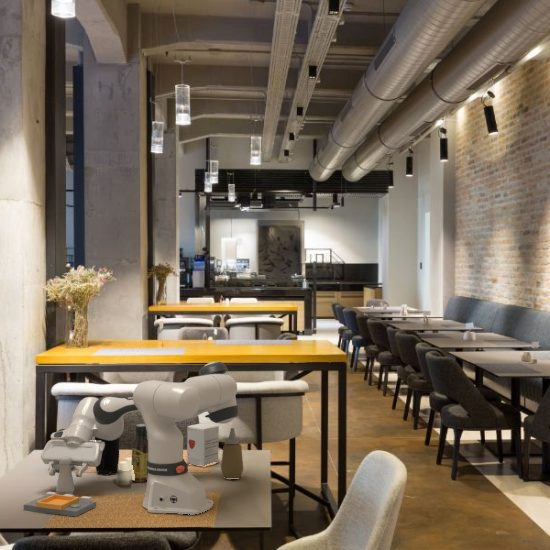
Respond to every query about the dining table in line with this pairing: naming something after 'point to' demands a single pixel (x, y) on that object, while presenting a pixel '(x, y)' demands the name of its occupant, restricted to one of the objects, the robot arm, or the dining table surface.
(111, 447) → the portable speaker
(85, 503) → the panel
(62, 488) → the salt shaker
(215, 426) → the supplement box
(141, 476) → the sauce bottle
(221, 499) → the dining table surface
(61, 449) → the robot arm
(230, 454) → the squeeze bottle
